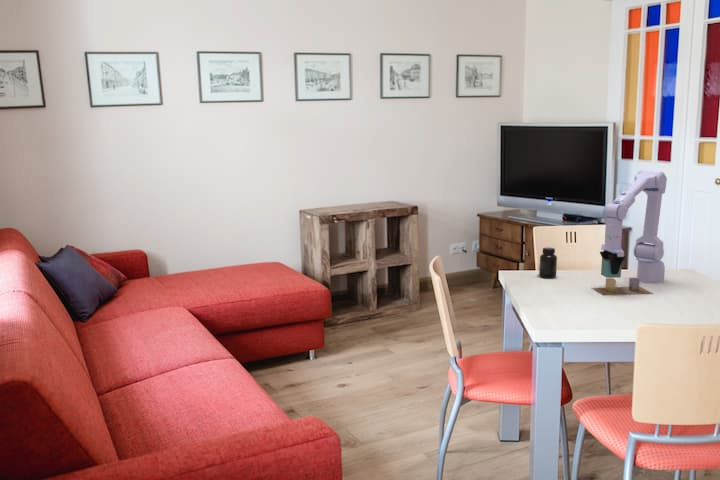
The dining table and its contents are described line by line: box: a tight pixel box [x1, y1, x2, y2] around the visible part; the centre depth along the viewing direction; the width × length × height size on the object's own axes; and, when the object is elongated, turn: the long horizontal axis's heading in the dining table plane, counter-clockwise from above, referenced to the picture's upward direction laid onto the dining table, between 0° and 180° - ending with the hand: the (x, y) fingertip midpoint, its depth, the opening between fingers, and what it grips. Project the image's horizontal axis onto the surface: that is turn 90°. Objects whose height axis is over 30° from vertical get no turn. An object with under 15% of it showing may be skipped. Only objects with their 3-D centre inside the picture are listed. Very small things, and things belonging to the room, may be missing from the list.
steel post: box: [628, 277, 640, 291], centre depth 247 cm, size 3×3×5 cm
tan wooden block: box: [605, 277, 617, 292], centre depth 247 cm, size 3×3×5 cm
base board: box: [591, 285, 654, 296], centre depth 248 cm, size 19×11×1 cm, turn 94°
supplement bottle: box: [538, 247, 558, 279], centre depth 273 cm, size 7×7×12 cm
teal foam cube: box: [600, 258, 623, 279], centre depth 246 cm, size 5×5×6 cm
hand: (611, 272), depth 246 cm, fingers closed on teal foam cube, 5 cm apart
